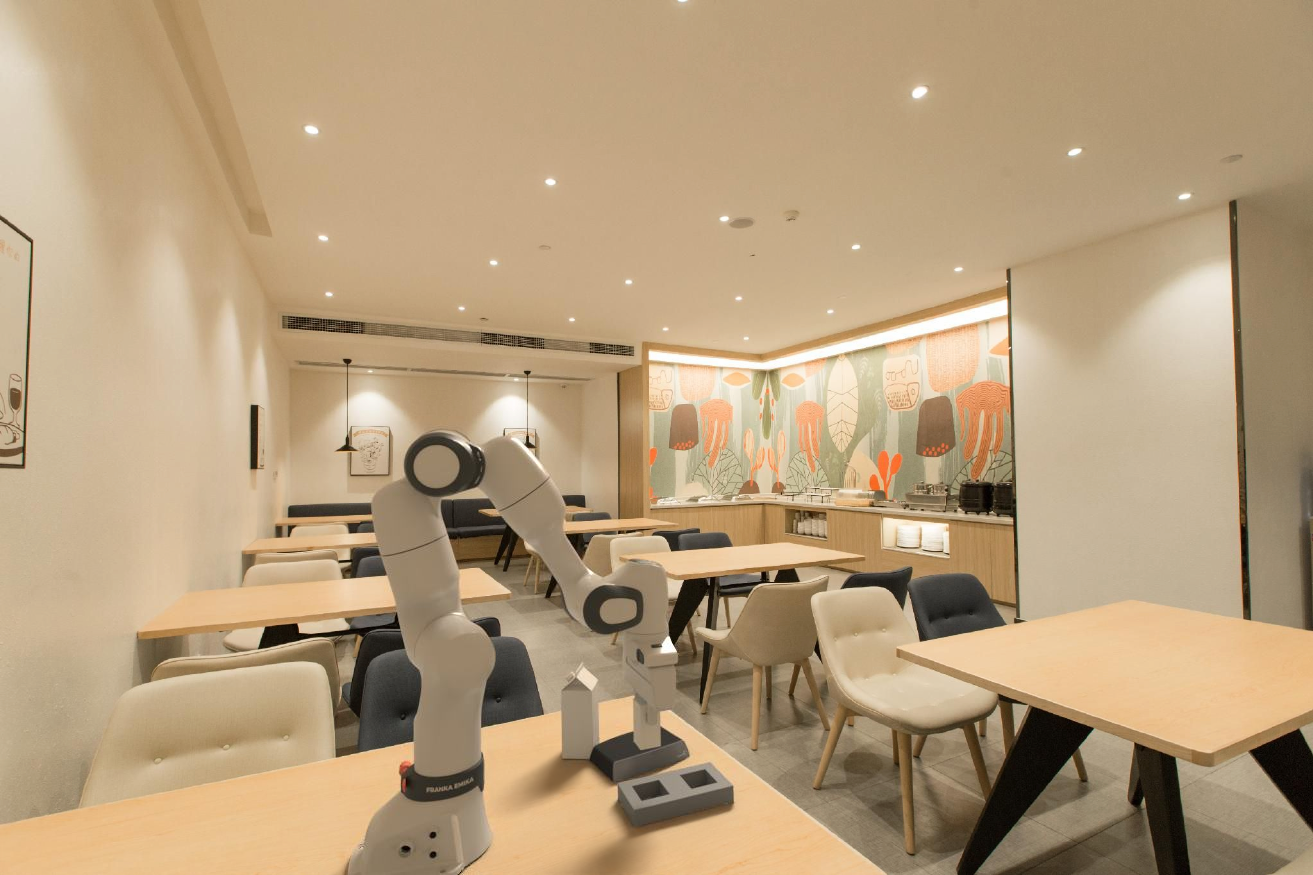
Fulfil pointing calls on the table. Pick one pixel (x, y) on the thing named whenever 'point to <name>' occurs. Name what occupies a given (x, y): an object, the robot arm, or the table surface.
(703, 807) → the socket panel
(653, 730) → the plug
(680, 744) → the external hard drive
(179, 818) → the table surface
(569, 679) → the milk carton
